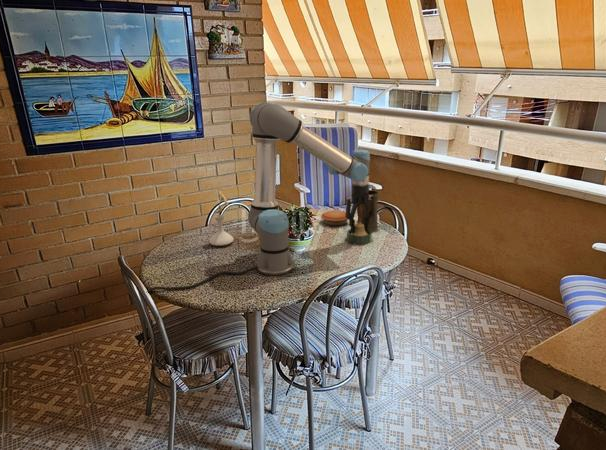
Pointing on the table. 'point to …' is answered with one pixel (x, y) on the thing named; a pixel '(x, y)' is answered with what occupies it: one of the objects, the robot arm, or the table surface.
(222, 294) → the table surface
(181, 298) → the table surface
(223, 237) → the flower in vase
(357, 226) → the hand bell
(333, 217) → the pie
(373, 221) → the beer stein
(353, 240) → the holder
